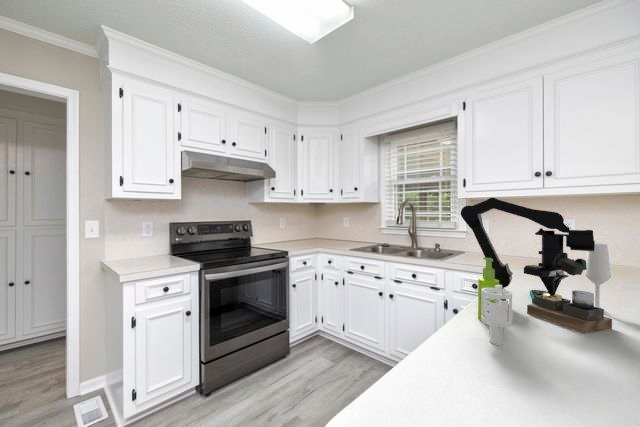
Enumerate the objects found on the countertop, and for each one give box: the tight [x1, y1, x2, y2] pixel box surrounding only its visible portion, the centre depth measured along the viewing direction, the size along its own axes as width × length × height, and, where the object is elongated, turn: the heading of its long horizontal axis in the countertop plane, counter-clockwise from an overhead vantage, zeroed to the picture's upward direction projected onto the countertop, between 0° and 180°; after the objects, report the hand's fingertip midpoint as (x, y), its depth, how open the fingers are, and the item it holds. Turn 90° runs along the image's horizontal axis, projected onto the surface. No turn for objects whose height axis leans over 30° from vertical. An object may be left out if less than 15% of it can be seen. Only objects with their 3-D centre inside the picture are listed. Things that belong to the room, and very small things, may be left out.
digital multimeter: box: [529, 289, 549, 304], centre depth 115 cm, size 7×15×3 cm, turn 147°
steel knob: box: [571, 289, 595, 308], centre depth 89 cm, size 5×5×4 cm
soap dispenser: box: [477, 257, 499, 322], centre depth 95 cm, size 6×7×20 cm
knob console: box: [526, 295, 613, 334], centre depth 94 cm, size 12×17×6 cm
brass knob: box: [543, 293, 563, 301], centre depth 98 cm, size 5×5×4 cm
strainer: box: [480, 285, 513, 346], centre depth 78 cm, size 7×7×15 cm
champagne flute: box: [584, 242, 612, 316], centre depth 102 cm, size 7×7×24 cm
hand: (552, 295), depth 98 cm, fingers closed, pressing on brass knob
